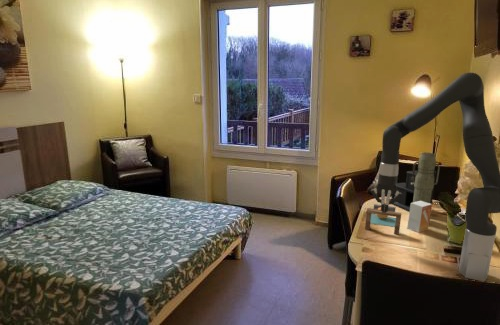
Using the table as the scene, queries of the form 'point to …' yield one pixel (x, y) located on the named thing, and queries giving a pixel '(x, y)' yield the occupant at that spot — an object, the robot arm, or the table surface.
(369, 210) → the bridge
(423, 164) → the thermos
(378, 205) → the wall
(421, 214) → the small box
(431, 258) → the table surface
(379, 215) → the ball
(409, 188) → the black drawer cabinet
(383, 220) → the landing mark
